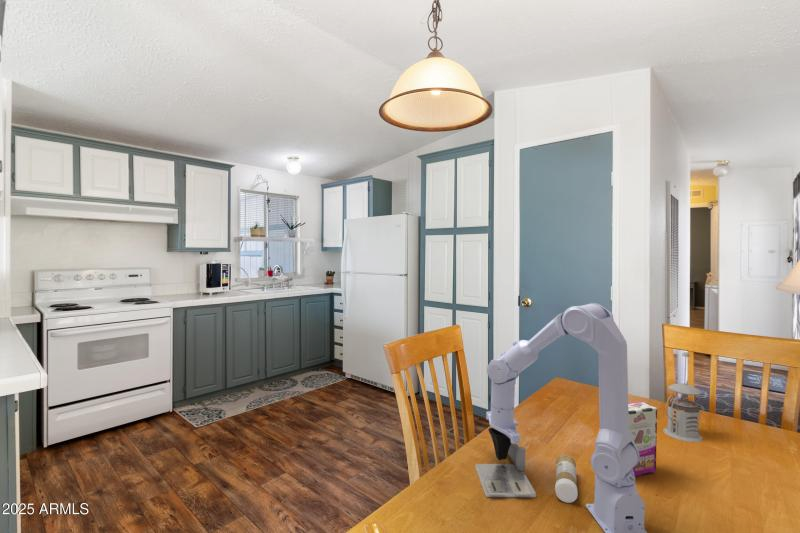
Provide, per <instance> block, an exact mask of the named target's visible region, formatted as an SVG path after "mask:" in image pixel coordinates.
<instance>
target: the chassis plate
mask: <svg viewBox="0 0 800 533" xmlns="http://www.w3.org/2000/svg"><path fill="white" fill-rule="evenodd" d="M475 470H476V473H477V476H478V479H479V482H480V484H481V487H482V489H483V491H484V494H485V495H484V496H485V497H486V498H536V496H537V494H536V491H535V489H534V488H533V485H532V483H531V482H530V480H529V478H528V477H527V475H526V473H525V472H524V470H518V469H516V465H515V463H475Z"/></svg>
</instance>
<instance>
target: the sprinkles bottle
mask: <svg viewBox="0 0 800 533" xmlns="http://www.w3.org/2000/svg"><path fill="white" fill-rule="evenodd" d="M555 463H556V468H555V482H556V483H555V485H554V492H555V495H556V497H557V498H558V499H559V500H560V501H561V502H563V503H567V504H571V503H573V502H575V501H576V500H577V499H578V496H579V495H578V493H579V492H578V487H577V483H578V482H577V470H576V467H577V464H576V463H577V462H576V461H575V459H574V458H573V457H572V456H570V455H568V454H561V455H559V456H558V457H557V458H556V462H555Z"/></svg>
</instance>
